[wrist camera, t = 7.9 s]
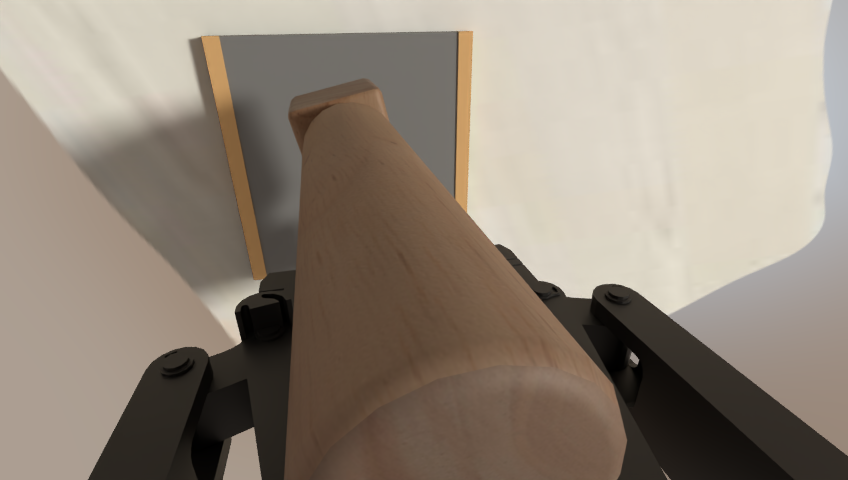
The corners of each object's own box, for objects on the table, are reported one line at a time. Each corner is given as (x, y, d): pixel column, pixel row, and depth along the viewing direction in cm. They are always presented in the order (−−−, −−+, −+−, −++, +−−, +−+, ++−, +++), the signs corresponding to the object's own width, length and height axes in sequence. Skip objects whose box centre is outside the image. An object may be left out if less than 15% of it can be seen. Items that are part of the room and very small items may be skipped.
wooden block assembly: (359, 295, 24) (457, 813, 8) (288, 97, 19) (179, 450, 3) (423, 275, 24) (635, 730, 9) (370, 75, 19) (647, 288, 3)
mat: (204, 35, 22) (201, 36, 21) (468, 31, 25) (472, 31, 24) (255, 274, 28) (253, 280, 28) (462, 249, 31) (465, 254, 30)
